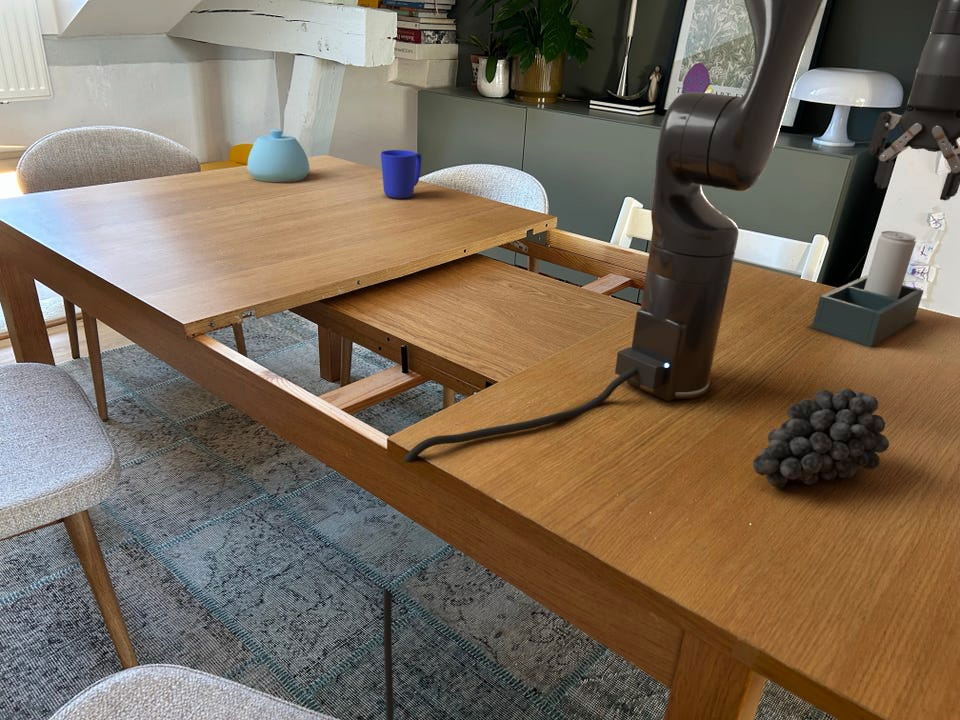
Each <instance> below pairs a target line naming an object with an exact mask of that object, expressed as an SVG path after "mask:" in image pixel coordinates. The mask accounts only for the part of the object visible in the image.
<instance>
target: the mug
mask: <svg viewBox="0 0 960 720" xmlns="http://www.w3.org/2000/svg"><path fill="white" fill-rule="evenodd" d="M380 160H381V161H380V162H381V163H380V164H381V173H382V184H383V185H382V186H383V193H384V195H385V196H386V197H387V198H390V199H396V200H401V199H409V198H411V197H413V195H414V190H415V187H416V186H417V185H418V183H419V180H420V177H421V170H422V169H421V168H422V153H420V152H414V151H411V150H404V149H391V150H390V149H389V150H383V151H381V152H380Z"/></svg>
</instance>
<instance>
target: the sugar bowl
mask: <svg viewBox="0 0 960 720" xmlns="http://www.w3.org/2000/svg"><path fill="white" fill-rule="evenodd" d="M283 132H284V130H283V129H279V128H273V129H269V133H270V134H266V135H261V136H258V137H257V138H256V140H255V142H254V144H253V146H251V147H252V148H251V149H250V152H249V155H248V158H247V165H246V166H247V171H248V173H249V174H250V175H251V176H252V177H253V178H254V179H255V180H257V181H261V182H265V183H266V182H267V183H292V182H299V181H301V180H304V179H305V178H306V177H307V175H308V174H309V172H310V169H311V168H310V163H309V159H308V156H307V153H306V152H305V150H304V148H303V146H302V145H301V144H300V142H299V141H298V139H297V138H296V137H295V136H291V135H285V134H283Z"/></svg>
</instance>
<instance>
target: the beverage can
mask: <svg viewBox="0 0 960 720" xmlns="http://www.w3.org/2000/svg"><path fill="white" fill-rule="evenodd" d="M880 234H881V235H880V236H879V237H878V239H877V242H876V246H875V250H874V254H873V257H872V260H871V264H870V267H869V271H868V274H867V276H868V277H867V281H866V284H865V288H864V290H866V291H869V292H873V293H877V294H880V295H884V296H888V297H891V298H895V299H898V297H899V294H900V291H901V288H902V285H904V281H905V278H906V275H907V272H908V268H909V265H910V261H911V259H912V255H913V252H914V249H915V246H916V241H915V240H916V239H917V237H916V236H915V235H913V234H910V233H907V232H902V231H897V230H896V231H894V230H883V231H881V232H880Z"/></svg>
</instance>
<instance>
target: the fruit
mask: <svg viewBox="0 0 960 720" xmlns="http://www.w3.org/2000/svg"><path fill="white" fill-rule="evenodd" d="M878 409H879V400H878V399H877V398H876V397H875V396H873V395H871V394H868V393H865V392H863V391H853V389H852V388H849V387H848V388H840V389H839V390H838V391H837V392H836V393H835V394H833V392H831V391H830V390H828V389H820V390H818V391H817V392H816V393H815V395H814V398H813V400H811V399H809V398H808V399H807V398H806V399H803V400H801V401H800V402H795V403H792V404H790V405H789V406H788V408H787V411H786V415H787V417H788V418H789V419H788V420H786V421H784V422H782V423H781V425H780V427H779V428H773V429H772V430H770V432H769V433H768V435H767V441H768V445H767V446H766V447H765V448H763V449H762V450H761V451H760V453H759V455H757V456H756V457H755V458H754V459H753V461H752V469H753V470H754V472H755V473H757V474H758V475H760V476H766V481H767V483H769V484H770V486H773V487H776V488H782V487H784V486H786V485H787V483H788V480H789V479H790V480H796V479H797V480H799V481H801V482H802V483H803V484H804V485H806V486H813V485H815V484H816V483H817V482H818V481H819V476H820V477H821V479H822V480H826V481H831V480H834V479H836V477H837V476H838V477H839V478H841V479H851V478H853V477H854V476H855V474H856V473H857V468H859V469H860V468H862V469H865V470H869V471H872V470H875V469H877V468H878V467H879V465H880V464H881V461H880V459H881V458H880V456H879V454H880V453H881V454H882V453H884V452H886V451H887V450H888V448H890V447H889V446H890V441H889V439H888V438H887V436H886V435H885V434H882V433H883V431H885V428H886V421H885V420H884V418H883V417H882V416H880V415H878V414H873V413H875V412H876V411H877V410H878ZM878 453H879V454H878Z"/></svg>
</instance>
